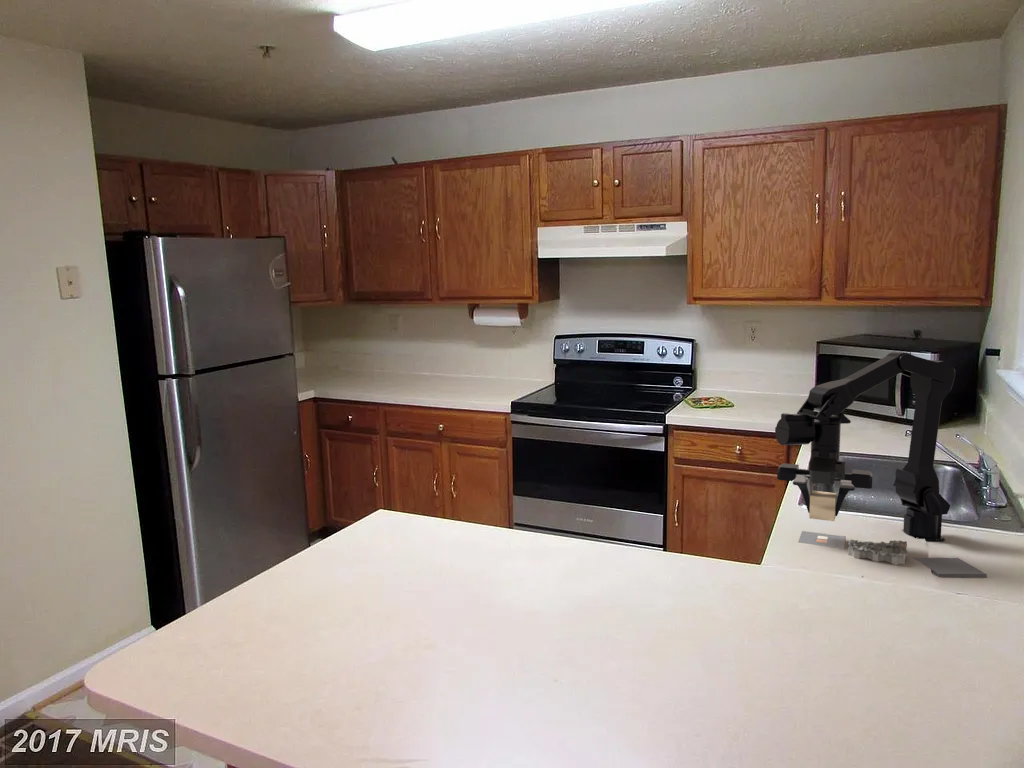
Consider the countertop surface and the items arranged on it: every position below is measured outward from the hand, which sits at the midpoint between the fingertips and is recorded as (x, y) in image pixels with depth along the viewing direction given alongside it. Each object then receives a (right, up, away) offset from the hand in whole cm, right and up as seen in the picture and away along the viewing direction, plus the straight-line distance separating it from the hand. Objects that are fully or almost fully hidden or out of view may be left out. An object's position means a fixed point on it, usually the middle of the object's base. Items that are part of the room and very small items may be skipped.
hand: (822, 514), depth 153 cm
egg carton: (+6, -8, -10) cm, 15 cm away
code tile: (0, -6, +1) cm, 6 cm away
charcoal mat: (+18, -8, -16) cm, 25 cm away
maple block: (0, -1, 0) cm, 1 cm away
